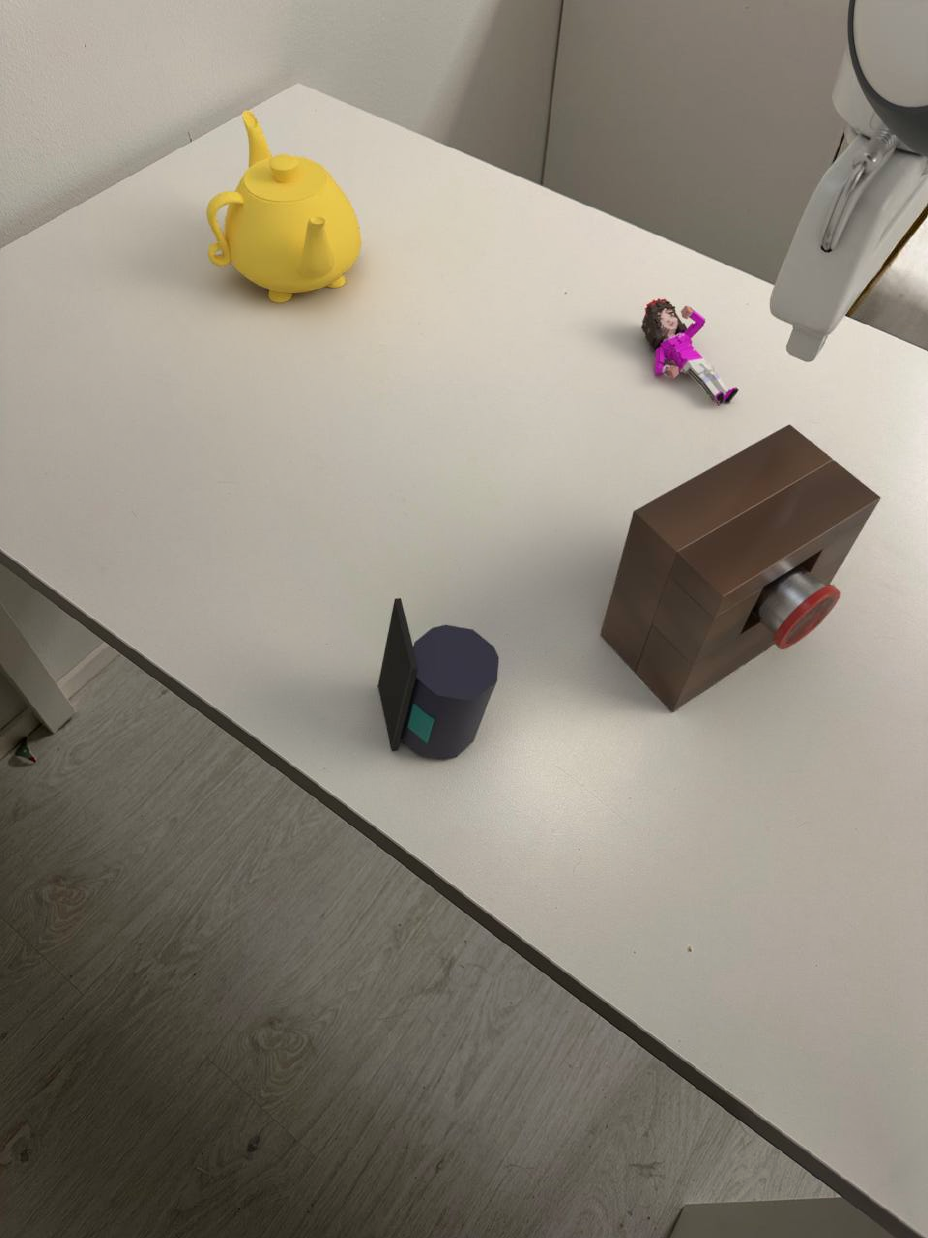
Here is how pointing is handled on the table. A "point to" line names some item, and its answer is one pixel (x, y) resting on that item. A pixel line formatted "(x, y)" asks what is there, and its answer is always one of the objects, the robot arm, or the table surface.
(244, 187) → the teapot
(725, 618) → the control box
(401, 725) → the speaker
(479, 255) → the table surface
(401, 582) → the table surface
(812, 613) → the knob
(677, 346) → the character figurine
